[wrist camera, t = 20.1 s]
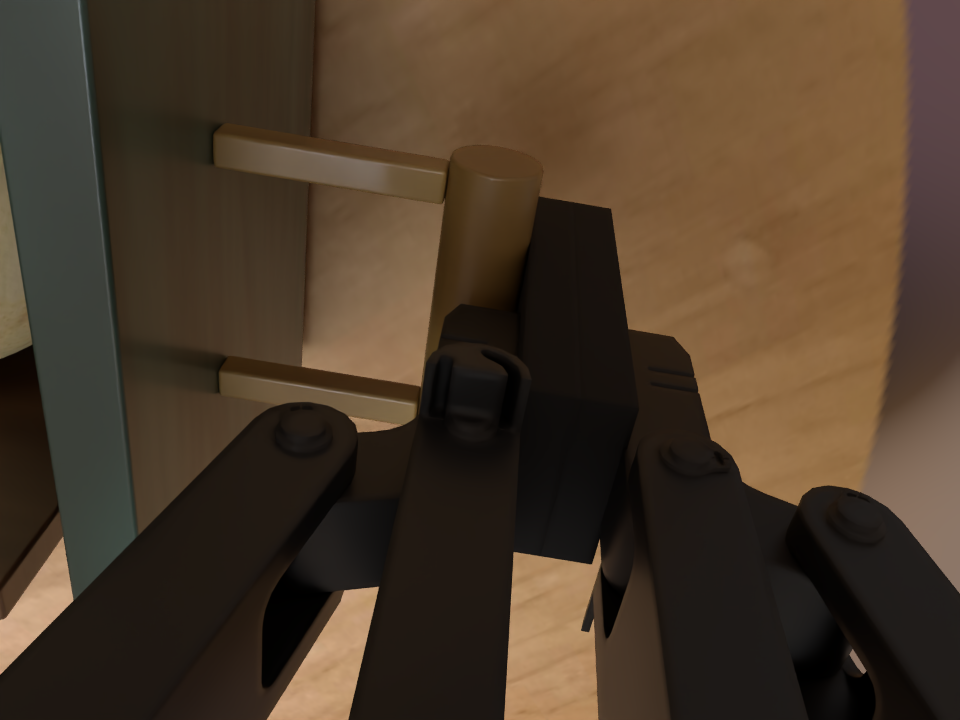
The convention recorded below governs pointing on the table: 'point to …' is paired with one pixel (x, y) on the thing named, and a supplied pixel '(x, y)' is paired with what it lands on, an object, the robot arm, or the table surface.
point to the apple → (10, 282)
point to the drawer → (187, 255)
